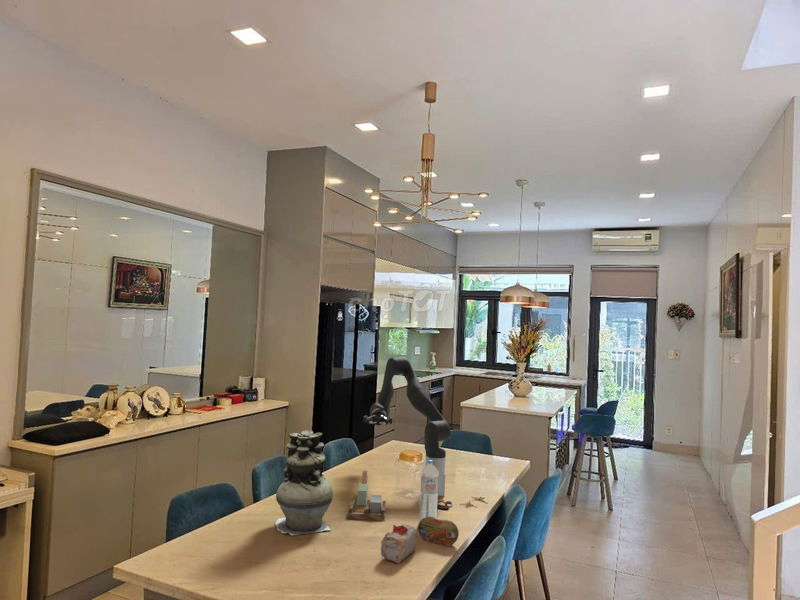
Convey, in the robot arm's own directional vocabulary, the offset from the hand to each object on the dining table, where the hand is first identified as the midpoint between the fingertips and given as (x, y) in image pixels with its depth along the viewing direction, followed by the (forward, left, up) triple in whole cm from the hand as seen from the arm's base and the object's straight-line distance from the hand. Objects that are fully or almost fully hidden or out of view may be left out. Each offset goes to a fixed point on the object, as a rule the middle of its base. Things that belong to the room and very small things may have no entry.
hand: (377, 422), depth 254 cm
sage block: (+4, +20, -30) cm, 36 cm away
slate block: (-2, +37, -30) cm, 48 cm away
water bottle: (-23, +48, -30) cm, 61 cm away
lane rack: (+1, +38, -30) cm, 48 cm away
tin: (-26, +63, -30) cm, 75 cm away
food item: (-12, +76, -30) cm, 82 cm away
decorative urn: (+24, +54, -30) cm, 66 cm away
